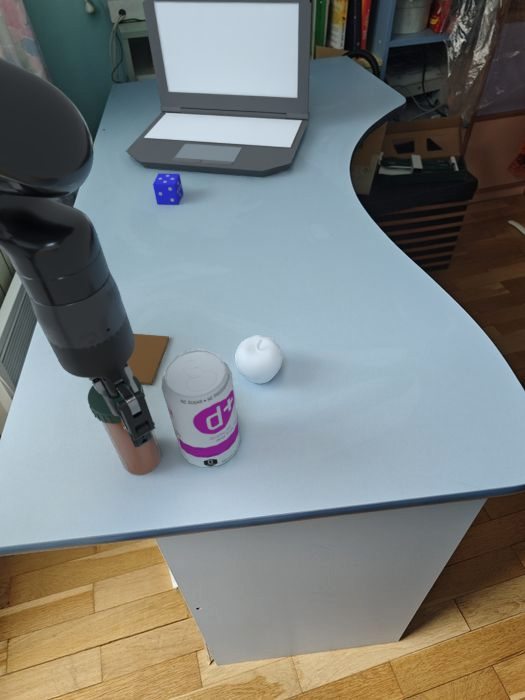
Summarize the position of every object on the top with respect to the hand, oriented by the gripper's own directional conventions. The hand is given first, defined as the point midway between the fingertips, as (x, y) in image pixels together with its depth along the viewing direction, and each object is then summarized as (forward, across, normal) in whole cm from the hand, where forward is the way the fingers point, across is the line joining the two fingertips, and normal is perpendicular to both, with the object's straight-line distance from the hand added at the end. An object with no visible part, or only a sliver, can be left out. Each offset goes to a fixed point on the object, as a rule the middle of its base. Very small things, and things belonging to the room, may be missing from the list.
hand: (127, 418), depth 57 cm
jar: (+10, +1, 0) cm, 10 cm away
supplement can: (+10, -3, -8) cm, 14 cm away
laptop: (+10, +73, -60) cm, 95 cm away
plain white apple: (+10, +3, -21) cm, 24 cm away
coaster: (+10, +18, -7) cm, 22 cm away
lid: (-4, +1, 0) cm, 4 cm away
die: (+10, +58, -37) cm, 69 cm away
